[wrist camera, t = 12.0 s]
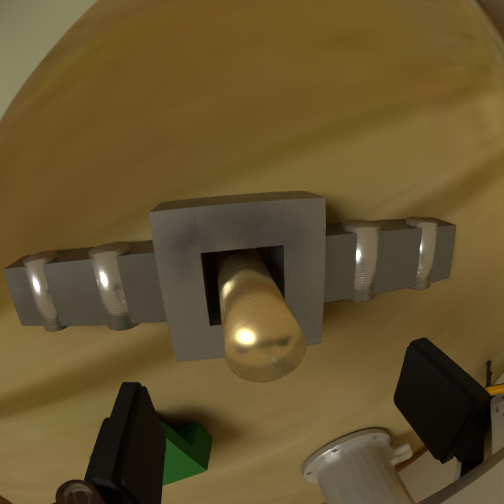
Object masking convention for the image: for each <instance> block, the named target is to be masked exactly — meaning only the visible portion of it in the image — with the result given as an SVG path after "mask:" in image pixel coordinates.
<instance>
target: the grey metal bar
mask: <svg viewBox="0 0 504 504" xmlns="http://www.w3.org/2000/svg"><path fill="white" fill-rule="evenodd" d="M149 216H150V224H151V232H152V239H153V240H149V241H140V242H131V243H126V242H114V243H108V244H103V245H100V246H97V247H89V248H81V249H73V250H65V251H57V252H56V251H44V252H40V253H37V254H34V255H28V256H23V257H22V258H20V259H19V260H17V261H15V262H14V263H12V264H11V265H9V266H8V267H6V268H4V272H5V276H6V280H7V283H8V286H9V290H10V293H11V296H12V299H13V302H14V305H15V308H16V311H17V313H18V316H19V319H20V321H21V324H22V325H24V326H43V327H44V329H45V330H46V331H50V332H54V331H59V330H62V329H65V328H66V327H68V326H77V325H107V327H108V328H110V329H112V330H117V331H121V330H127V329H131V328H133V327H135V326H137V325H138V324H140V323H149V322H164V321H167V322H168V326H169V331H170V335H171V340H172V344H173V348H174V352H175V356H176V360H177V361H191V360H203V359H214V358H224V357H226V356H225V347H224V338H223V329H222V320H221V310H220V300H219V295H218V296H209V292H208V284H207V276H206V268H205V259H204V253H206V252H216V251H226V250H236V249H247V248H257V247H267V246H270V271H271V277H272V279H273V280H274V282H275V284H276V286H277V287H278V289H279V291H280V293H281V295H282V296H283V298H284V300H285V302H286V303H287V305H288V307H289V309H290V311H291V312H292V314H293V316H294V318H295V320H296V321H297V323H298V325H299V327H300V328H301V330H302V332H303V334H304V336H305V340H306V346H308V345H313V344H318V343H321V335H322V321H323V304H324V303H326V302H332V301H338V300H344V299H345V300H347V301H351V302H367V301H370V300H372V299H373V298H374V296H375V294H377V293H382V292H388V291H393V290H398V289H402V288H410V289H416V290H423V289H427V288H429V287H430V283H431V282H434V281H439V280H443V279H447V278H449V274H450V269H451V262H452V256H453V248H454V241H455V232H456V225H454V224H451V223H448V222H445V221H442V220H439V219H436V218H433V217H432V218H424V217H408V218H406V219H396V220H380V221H363V220H351V221H345V222H343V223H336V224H326V198H325V197H322V196H318V195H315V194H312V193H308V192H305V191H288V192H270V193H255V194H242V195H229V196H218V197H207V198H196V199H187V200H177V201H169V202H161V203H160V204H159V205H157V206H156V207H155V208H154V209H152V210H151V211H150V212H149Z"/></svg>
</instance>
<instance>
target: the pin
mask: <svg viewBox="0 0 504 504" xmlns="http://www.w3.org/2000/svg"><path fill="white" fill-rule="evenodd" d="M216 268H217V279H218V290H219V300H220V310H221V320H222V329H223V338H224V347H225V356H226V361H227V364H228V366H229V368H230V369H231V370H232V371H233V373H235V374H236V375H237V376H239V377H240V378H242V379H245V380H248V381H252V382H269V381H273V380H277V379H279V378H282V377H284V376H286V375H287V374H289V373H290V372H292V371H293V370H294V369H295V368H296V367H297V366H298V365H299V363H300V362H301V360H302V359H303V357H304V354H305V351H306V340H305V336H304V334H303V332H302V330H301V328H300V327H299V325H298V323H297V321H296V320H295V318H294V316H293V314H292V312H291V311H290V309H289V307H288V305H287V303H286V302H285V300H284V298H283V296H282V295H281V293H280V291H279V289H278V287H277V286H276V284H275V282H274V280H273V279H272V277H271V275H270V273H269V271H268V270H267V268H266V266H265V264H264V263H263V261H262V259H261V257H260V255H259V254H258V252H257V250H256V249H255V248H247V249H236V250H226V251H220V253H219V254H218V257H217V260H216Z"/></svg>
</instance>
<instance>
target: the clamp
mask: <svg viewBox="0 0 504 504" xmlns="http://www.w3.org/2000/svg"><path fill="white" fill-rule="evenodd" d="M157 417H158V416H157ZM158 419H159V422H160V424H161V427H162V429H163V431H164V434H165V436H166V453H165V463H164V473H163V485H166V484H169V483H173V482H176V481H179V480H182V479H185V478H188V477H191V476H193V475H196V474H199V473H202V472H204V471H207V468H208V462H209V457H210V451H211V446H212V441H213V437H212V436H211V435H210V434H209V433H208V432H206V431H205V430H204V429H203V428H202V427H201V426H200V425H198V424H197V423H196V422H193V423H191V424H189V425H187V426H185V427H183V428H181V429H179V430H177V431H174V430H173V429H171V428H170V427H169V426H168V425H166V424H165V423H164V422H163V421H162V420H161V419H160V418H159V417H158ZM91 455H92V454H91ZM89 459H91V456H90V458H89ZM163 485H162V486H163Z"/></svg>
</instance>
